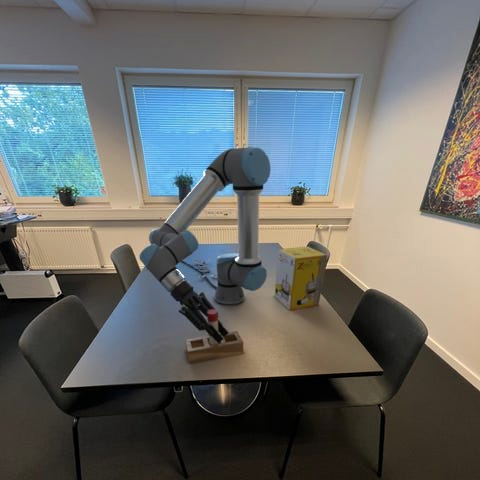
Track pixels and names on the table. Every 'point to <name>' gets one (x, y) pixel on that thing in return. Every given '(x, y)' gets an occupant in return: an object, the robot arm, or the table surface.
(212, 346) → the pen holder
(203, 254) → the table surface
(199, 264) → the drone parts
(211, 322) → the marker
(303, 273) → the packaging box
